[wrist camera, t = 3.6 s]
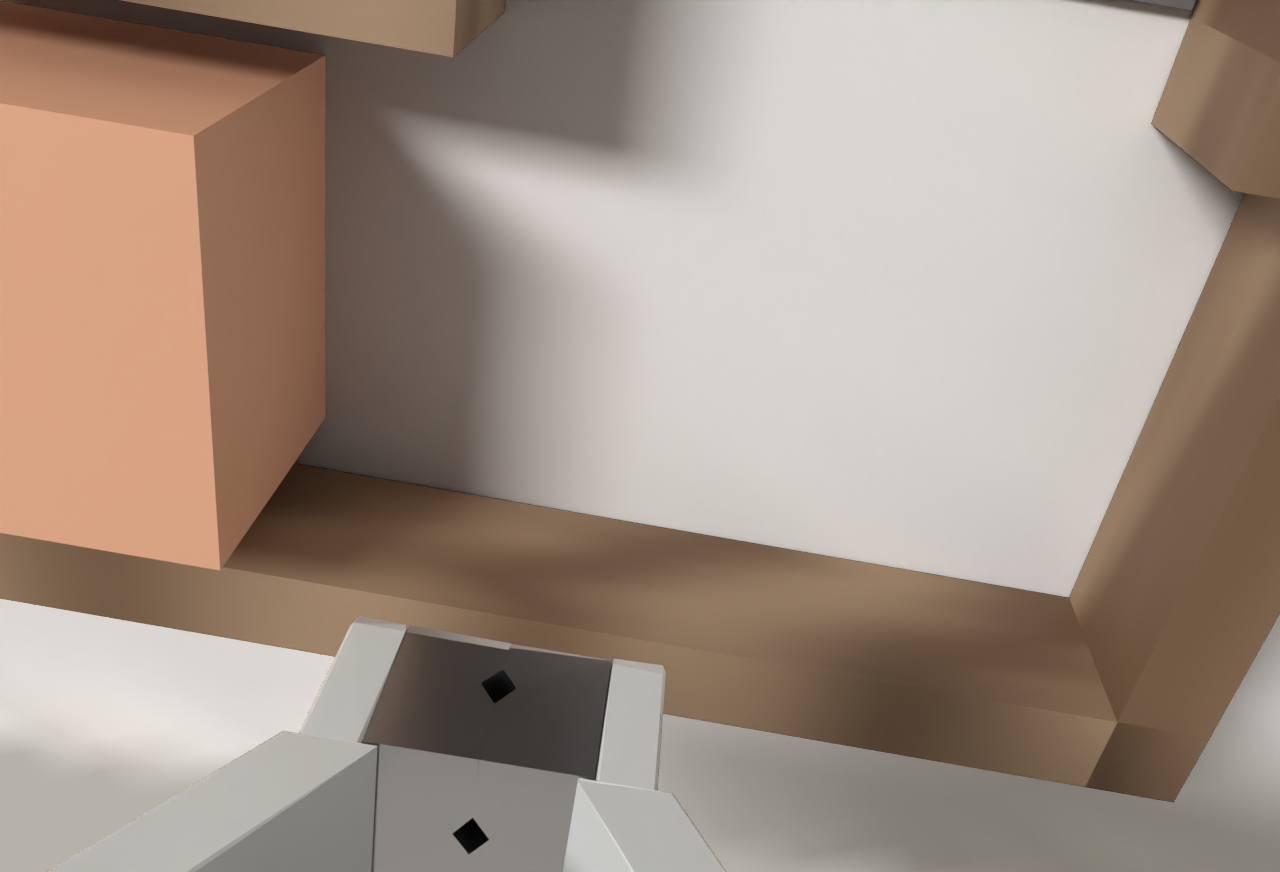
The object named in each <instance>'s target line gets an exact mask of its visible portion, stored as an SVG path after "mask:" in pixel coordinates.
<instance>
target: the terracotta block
mask: <svg viewBox="0 0 1280 872" xmlns="http://www.w3.org/2000/svg"><path fill="white" fill-rule="evenodd" d="M325 418H326V319H325V55H321V54H315V53H309V52H303V51H297V50H291V49H285V48H279V47H273V46H267V45H261V44H255V43H249V42H243V41H237V40H231V39H225V38H219V37H213V36H207V35H202V34H196V33H190V32H184V31H178V30H172V29H166V28H160V27H154V26H148V25H142V24H136V23H130V22H124V21H118V20H112V19H106V18H100V17H94V16H88V15H83V14H77V13H71V12H65V11H59V10H53V9H47V8H41V7H35V6H29V5H23V4H17V3H11V2H5V1H0V533H5V534H10V535H16V536H22V537H28V538H34V539H40V540H45V541H51V542H57V543H63V544H69V545H74V546H80V547H86V548H92V549H98V550H104V551H109V552H115V553H121V554H127V555H133V556H139V557H144V558H150V559H156V560H162V561H168V562H174V563H179V564H185V565H191V566H197V567H203V568H208V569H214V570H221V569H222V567H223V566H224V564H225V563H226V561H227V560H228V558H229V557H230V556H231V554H232V553H233V551H234V550H235V548H236V547H237V545H238V544H239V543H240V541H241V540H242V538H243V537H244V535H245V534H246V532H247V531H248V530H249V528H250V527H251V525H252V524H253V522H254V521H255V519H256V518H257V516H258V515H259V514H260V512H261V511H262V509H263V508H264V506H265V505H266V503H267V502H268V501H269V499H270V498H271V496H272V495H273V493H274V492H275V490H276V489H277V487H278V486H279V485H280V483H281V482H282V480H283V479H284V477H285V476H286V474H287V473H288V472H289V470H290V469H291V467H292V466H293V464H294V463H295V461H296V460H297V458H298V457H299V456H300V454H301V453H302V451H303V450H304V448H305V447H306V445H307V444H308V443H309V441H310V440H311V438H312V437H313V435H314V434H315V432H316V431H317V429H318V428H319V427H320V425H321V424H322V422H323V421H324V419H325Z"/></svg>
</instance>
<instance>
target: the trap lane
mask: <svg viewBox="0 0 1280 872" xmlns="http://www.w3.org/2000/svg"><path fill="white" fill-rule="evenodd" d="M121 1H127V2H133V3H139V4H145V5H150V6H156V7H162V8H168V9H174V10H180V11H185V12H191V13H197V14H203V15H209V16H215V17H220V18H226V19H232V20H238V21H244V22H250V23H255V24H261V25H267V26H273V27H279V28H285V29H291V30H296V31H302V32H308V33H314V34H320V35H326V36H331V37H337V38H343V39H349V40H355V41H361V42H366V43H372V44H378V45H384V46H390V47H396V48H401V49H407V50H413V51H419V52H425V53H431V54H437V55H442V56H448V57H454V56H455V55H456V54H457V53H459V52H460V51H461V50H462V49H463V48H464V47H466V46H467V45H468V44H469V43H470V42H471V41H472V40H474V39H475V38H476V37H477V36H478V35H479V34H480V33H482V32H483V31H484V30H485V29H486V28H487V27H489V26H490V25H491V24H492V23H493V22H494V21H495V20H497V19H498V18H499V17H500V16H501V15H502V14H503V13H504V9H505V0H121ZM1134 1H1139V2H1145V3H1151V4H1157V5H1163V6H1169V7H1175V8H1180V9H1186V10H1192V9H1193V7H1194V4H1195V1H1196V0H1134ZM1151 124H1152V125H1154V126H1155V127H1156V128H1157V129H1158V130H1160V131H1161V132H1162V133H1163V134H1164V135H1166V136H1167V137H1168V138H1169V139H1170V140H1172V141H1173V142H1174V143H1175V144H1176V145H1178V146H1179V147H1180V148H1181V149H1182V150H1184V151H1185V152H1186V153H1187V154H1188V155H1190V156H1191V157H1192V158H1193V159H1194V160H1196V161H1197V162H1198V163H1199V164H1200V165H1202V166H1203V167H1204V168H1205V169H1206V170H1208V171H1209V172H1210V173H1211V174H1212V175H1214V176H1215V177H1216V178H1217V179H1218V180H1219V181H1221V182H1222V183H1223V184H1224V185H1225V186H1227V187H1228V188H1229V189H1230V190H1231V191H1237V192H1243V193H1245V194H1244V196H1243V199H1242V201H1241V203H1240V206H1239V208H1238V210H1237V212H1236V215H1235V217H1234V219H1233V222H1232V224H1231V226H1230V229H1229V231H1228V233H1227V235H1226V238H1225V240H1224V242H1223V245H1222V247H1221V249H1220V252H1219V254H1218V256H1217V258H1216V261H1215V263H1214V265H1213V268H1212V270H1211V272H1210V275H1209V277H1208V279H1207V281H1206V284H1205V286H1204V288H1203V291H1202V293H1201V295H1200V298H1199V300H1198V302H1197V304H1196V307H1195V309H1194V311H1193V314H1192V316H1191V318H1190V321H1189V323H1188V325H1187V327H1186V330H1185V332H1184V334H1183V337H1182V339H1181V341H1180V344H1179V346H1178V348H1177V350H1176V353H1175V355H1174V357H1173V360H1172V362H1171V364H1170V367H1169V369H1168V371H1167V373H1166V376H1165V378H1164V380H1163V383H1162V385H1161V387H1160V390H1159V392H1158V394H1157V397H1156V399H1155V401H1154V403H1153V406H1152V408H1151V410H1150V413H1149V415H1148V417H1147V420H1146V422H1145V424H1144V426H1143V429H1142V431H1141V433H1140V436H1139V438H1138V440H1137V443H1136V445H1135V447H1134V449H1133V452H1132V454H1131V456H1130V459H1129V461H1128V463H1127V466H1126V468H1125V470H1124V472H1123V475H1122V477H1121V479H1120V482H1119V484H1118V486H1117V489H1116V491H1115V493H1114V495H1113V498H1112V500H1111V502H1110V505H1109V507H1108V509H1107V512H1106V514H1105V516H1104V518H1103V521H1102V523H1101V525H1100V528H1099V530H1098V532H1097V535H1096V537H1095V539H1094V541H1093V544H1092V546H1091V548H1090V551H1089V553H1088V555H1087V558H1086V560H1085V562H1084V564H1083V567H1082V569H1081V571H1080V574H1079V576H1078V578H1077V581H1076V583H1075V585H1074V587H1073V590H1072V592H1071V594H1070V597H1069V598H1067V597H1061V596H1055V595H1049V594H1044V593H1038V592H1032V591H1026V590H1020V589H1015V588H1009V587H1003V586H997V585H992V584H986V583H980V582H974V581H968V580H963V579H957V578H951V577H945V576H940V575H934V574H928V573H922V572H916V571H911V570H905V569H899V568H893V567H888V566H882V565H876V564H870V563H864V562H859V561H853V560H847V559H841V558H835V557H830V556H824V555H818V554H812V553H807V552H801V551H795V550H789V549H783V548H778V547H772V546H766V545H760V544H755V543H749V542H743V541H737V540H731V539H726V538H720V537H714V536H708V535H703V534H697V533H691V532H685V531H679V530H674V529H668V528H662V527H656V526H651V525H645V524H639V523H633V522H627V521H622V520H616V519H610V518H604V517H599V516H593V515H587V514H581V513H575V512H570V511H564V510H558V509H552V508H547V507H541V506H535V505H529V504H523V503H518V502H512V501H506V500H500V499H495V498H489V497H483V496H477V495H471V494H466V493H460V492H454V491H448V490H443V489H437V488H431V487H425V486H419V485H414V484H408V483H402V482H396V481H391V480H385V479H379V478H373V477H367V476H362V475H356V474H350V473H344V472H339V471H333V470H327V469H321V468H315V467H310V466H304V465H298V464H293V466H292V467H291V469H290V470H289V472H288V473H287V474H286V476H285V477H284V479H283V480H282V482H281V483H280V485H279V486H278V487H277V489H276V490H275V492H274V493H273V495H272V496H271V498H270V499H269V501H268V502H267V503H266V505H265V506H264V508H263V509H262V511H261V512H260V514H259V515H258V516H257V518H256V519H255V521H254V522H253V524H252V525H251V527H250V528H249V530H248V531H247V532H246V534H245V535H244V537H243V538H242V540H241V541H240V543H239V544H238V545H237V547H236V548H235V550H234V551H233V553H232V554H231V556H230V557H229V558H228V560H227V561H226V563H225V564H224V566H223V567H222V569H221V570H214V569H208V568H203V567H197V566H191V565H185V564H179V563H174V562H168V561H162V560H156V559H150V558H144V557H139V556H133V555H127V554H121V553H115V552H109V551H104V550H98V549H92V548H86V547H80V546H74V545H69V544H63V543H57V542H51V541H45V540H40V539H34V538H28V537H22V536H16V535H10V534H5V533H0V599H6V600H12V601H18V602H23V603H29V604H35V605H41V606H46V607H52V608H58V609H64V610H70V611H75V612H81V613H87V614H93V615H98V616H104V617H110V618H116V619H121V620H127V621H133V622H139V623H144V624H150V625H156V626H162V627H167V628H173V629H179V630H185V631H190V632H196V633H202V634H208V635H213V636H219V637H225V638H231V639H236V640H242V641H248V642H254V643H259V644H265V645H271V646H277V647H282V648H288V649H294V650H300V651H305V652H311V653H317V654H323V655H328V656H334V657H336V655H337V652H338V650H339V648H340V646H341V644H342V642H343V640H344V638H345V636H346V634H347V632H348V629H349V627H350V625H351V624H353V623H354V622H355V621H356V620H357V619H358V618H359V617H365V618H371V619H376V620H382V621H387V622H393V623H398V624H404V625H408V626H410V627H411V626H412V625H414V626H419V627H424V628H430V629H435V630H441V631H446V632H451V633H457V634H462V635H468V636H473V637H478V638H484V639H489V640H495V641H500V642H505V643H511V644H515V645H522V646H528V647H535V648H541V649H548V650H554V651H560V652H567V653H573V654H580V655H586V656H592V657H599V658H605V659H611V664H612V661H613V659H620V660H628V661H635V662H642V663H649V664H656V665H663V667H664V669H665V672H666V678H665V692H664V706H663V714H668V715H674V716H679V717H685V718H691V719H697V720H702V721H708V722H714V723H720V724H725V725H731V726H737V727H743V728H748V729H754V730H760V731H766V732H771V733H777V734H783V735H789V736H794V737H800V738H806V739H812V740H817V741H823V742H829V743H835V744H840V745H846V746H852V747H858V748H863V749H869V750H875V751H881V752H886V753H892V754H898V755H904V756H909V757H915V758H921V759H927V760H932V761H938V762H944V763H950V764H955V765H961V766H967V767H973V768H978V769H984V770H990V771H996V772H1001V773H1007V774H1013V775H1019V776H1025V777H1030V778H1036V779H1042V780H1048V781H1053V782H1059V783H1065V784H1071V785H1076V786H1082V787H1088V788H1094V789H1099V790H1105V791H1111V792H1117V793H1122V794H1128V795H1134V796H1140V797H1145V798H1151V799H1157V800H1163V801H1168V802H1174V801H1175V799H1176V797H1177V796H1178V794H1179V792H1180V790H1181V788H1182V787H1183V785H1184V783H1185V781H1186V780H1187V778H1188V776H1189V774H1190V772H1191V771H1192V769H1193V767H1194V765H1195V764H1196V762H1197V760H1198V758H1199V756H1200V755H1201V753H1202V751H1203V749H1204V747H1205V746H1206V744H1207V742H1208V740H1209V739H1210V737H1211V735H1212V733H1213V731H1214V730H1215V728H1216V726H1217V724H1218V723H1219V721H1220V719H1221V717H1222V715H1223V714H1224V712H1225V710H1226V708H1227V707H1228V705H1229V703H1230V701H1231V699H1232V698H1233V696H1234V694H1235V692H1236V691H1237V689H1238V687H1239V685H1240V683H1241V682H1242V680H1243V678H1244V676H1245V675H1246V673H1247V671H1248V669H1249V667H1250V666H1251V664H1252V662H1253V660H1254V658H1255V657H1256V655H1257V653H1258V651H1259V650H1260V648H1261V646H1262V644H1263V642H1264V641H1265V639H1266V637H1267V635H1268V634H1269V632H1270V630H1271V628H1272V626H1273V625H1274V623H1275V621H1276V619H1277V618H1278V616H1279V614H1280V0H1198V1H1197V4H1196V6H1195V9H1194V12H1193V14H1192V17H1191V20H1190V22H1189V25H1188V27H1187V30H1186V33H1185V35H1184V38H1183V41H1182V43H1181V46H1180V49H1179V51H1178V54H1177V57H1176V59H1175V62H1174V64H1173V67H1172V70H1171V72H1170V75H1169V78H1168V80H1167V83H1166V86H1165V88H1164V91H1163V94H1162V96H1161V99H1160V102H1159V104H1158V107H1157V109H1156V112H1155V115H1154V117H1153V120H1152V123H1151Z"/></svg>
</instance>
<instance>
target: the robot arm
mask: <svg viewBox="0 0 1280 872" xmlns="http://www.w3.org/2000/svg"><path fill="white" fill-rule="evenodd" d="M665 678H666V672H665V669H664V667H663V665H656V664H649V663H642V662H635V661H628V660H620V659H613V661H612V664H611V659H605V658H599V657H592V656H586V655H580V654H573V653H567V652H560V651H554V650H548V649H541V648H535V647H528V646H522V645H515V644H511V643H505V642H500V641H495V640H489V639H484V638H478V637H473V636H468V635H462V634H457V633H451V632H446V631H441V630H435V629H430V628H424V627H419V626H414V625H412V626H411V627H410V626H408V625H404V624H398V623H393V622H387V621H382V620H376V619H371V618H365V617H359V618H358V619H357V620H356V621H355V622H354V623H353V624H351V625H350V627H349V629H348V632H347V634H346V636H345V638H344V640H343V642H342V644H341V646H340V648H339V650H338V652H337V655H336V657H335V659H334V661H333V663H332V665H331V667H330V669H329V671H328V673H327V675H326V678H325V680H324V682H323V684H322V686H321V688H320V690H319V692H318V694H317V696H316V698H315V701H314V703H313V705H312V707H311V709H310V711H309V713H308V715H307V717H306V719H305V721H304V724H303V726H302V728H301V730H300V732H299V733H294V732H287V731H282V732H281V733H279V734H277V735H276V736H274V737H272V738H271V739H269V740H267V741H266V742H264V743H262V744H260V745H259V746H257V747H255V748H254V749H252V750H250V751H249V752H247V753H245V754H244V755H242V756H240V757H239V758H237V759H235V760H234V761H232V762H230V763H229V764H227V765H225V766H224V767H222V768H220V769H218V770H217V771H215V772H213V773H212V774H210V775H208V776H207V777H205V778H203V779H202V780H200V781H198V782H197V783H195V784H193V785H192V786H190V787H188V788H187V789H185V790H183V791H182V792H180V793H178V794H177V795H175V796H173V797H171V798H170V799H168V800H166V801H165V802H163V803H161V804H160V805H158V806H156V807H155V808H153V809H151V810H150V811H148V812H146V813H145V814H143V815H141V816H140V817H138V818H136V819H135V820H133V821H131V822H130V823H128V824H126V825H124V826H123V827H121V828H119V829H118V830H116V831H114V832H113V833H111V834H109V835H108V836H106V837H104V838H103V839H101V840H99V841H98V842H96V843H94V844H93V845H91V846H89V847H88V848H86V849H84V850H83V851H81V852H79V853H77V854H76V855H74V856H72V857H71V858H69V859H67V860H66V861H64V862H63V863H61V864H59V865H58V866H56V867H54V868H52V869H51V870H49V871H48V872H726V871H725V869H724V868H723V866H722V865H721V863H720V862H719V860H718V859H717V857H716V856H715V854H714V853H713V852H712V850H711V849H710V847H709V846H708V844H707V843H706V841H705V840H704V838H703V837H702V835H701V834H700V833H699V831H698V830H697V828H696V827H695V825H694V824H693V822H692V821H691V819H690V818H689V816H688V815H687V814H686V812H685V811H684V809H683V808H682V806H681V805H680V803H679V802H678V800H677V799H676V798H675V796H674V795H673V794H672V793H667V792H661V791H658V777H659V763H660V748H661V734H662V720H663V706H664V692H665Z"/></svg>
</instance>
